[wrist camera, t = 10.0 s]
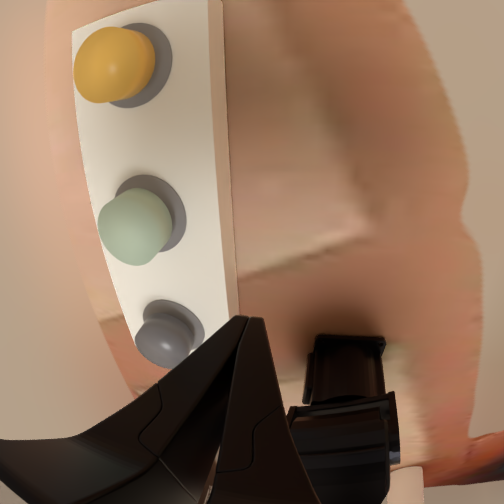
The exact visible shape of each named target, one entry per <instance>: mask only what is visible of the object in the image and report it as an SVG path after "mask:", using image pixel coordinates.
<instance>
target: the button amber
mask: <svg viewBox="0 0 504 504" xmlns="http://www.w3.org/2000/svg"><path fill="white" fill-rule="evenodd" d="M154 67H155V51H154V48H153V45H152V43H151V41H150V40H149V39H148V37H146V36H145V35H144V34H142V33H141V32H138V31H134V30H129V29H124V28H119V27H104V28H101V29H99V30H97V31H95V32H93V33H92V34H91V35H89V36H88V37H87V38H86V40H85V41H84V42H83V43H82V45H81V46H80V48H79V50H78V52H77V55H76V57H75V61H74V67H73V77H74V82H75V85H76V88H77V90H78V92H79V93H80V94H81V96H82V97H83V98H85V99H86V100H88V101H90V102H92V103H106V102H112V101H118V100H124V99H128V98H131V97H133V96H135V95H136V94H138V93H139V92H140V91H141V90H142V89H143V88H144V87H145V86H146V85H147V83H148V82H149V80H150V78H151V76H152V73H153V71H154Z"/></svg>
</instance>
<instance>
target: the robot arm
mask: <svg viewBox="0 0 504 504" xmlns="http://www.w3.org/2000/svg"><path fill="white" fill-rule="evenodd" d="M385 346H386V340H385V339H384V338H379V337H355V336H337V335H322V334H321V335H317V336H316V338H315V343H314V349H313V353H309V354H308V357H307V364H306V371H305V380H304V390H303V398H302V402H303V404H307V405H308V406H300V407H297V406H290V409H289V411H288V414H287V415H286V414H285V410H284V406H283V401H282V397H281V393H280V388H279V384H278V380H277V375H276V371H275V367H274V362H273V358H272V353H271V349H270V345H269V340H268V336H267V331H266V327H265V323H264V319H263V318H262V317H253V316H251V317H248V316H244V315H235V316H233V317H232V318H231V319H230V320H229V321H228V322H226V323H225V324H224V325H223V326H222V327H221V328H220V329H218V330H217V331H216V332H215V333H214V334H213V335H212V336H210V337H209V338H208V339H207V340H206V341H205V342H204V343H202V344H201V345H200V346H199V347H198V348H197V349H195V350H194V351H193V352H192V353H191V354H190V355H188V356H187V357H186V358H185V359H184V360H183V361H181V362H180V363H179V364H178V365H177V366H176V367H174V368H173V369H172V370H171V371H170V372H168V373H167V374H166V375H165V376H164V377H163V378H161V379H160V380H159V381H158V383H155V384H154V385H153V386H152V387H150V388H149V389H148V390H147V391H145V392H144V393H143V394H142V395H140V396H139V397H138V398H136V399H135V400H134V401H132V402H131V403H129V404H128V405H126V406H125V407H123V408H122V409H121V410H119V411H117V412H116V413H114V414H113V415H111V416H109V417H108V418H106V419H105V420H103V421H101V422H100V423H98V424H96V425H95V426H93V427H92V428H90V429H88V430H87V431H85V432H83V433H80V434H78V435H75V436H72V437H68V438H58V439H41V440H3V439H0V504H198V503H197V502H198V501H199V499H200V496H201V494H202V491H203V488H204V486H205V483H206V481H207V478H208V475H209V473H210V470H211V468H212V465H213V462H214V460H215V457H216V454H217V452H218V449H219V454H218V460H217V465H216V471H215V473H216V474H215V477H214V482H213V486H212V490H211V493H210V496H209V498H208V501H207V503H206V504H381V503H382V501H383V500H384V498H385V497H386V495H387V494H388V492H389V489H390V466H391V465H397V464H400V439H399V426H398V416H397V408H396V400H395V392H394V391H391V392H388V393H387V394H386V392H385V382H384V373H383V365H382V358H381V357H382V354H383V351H384V349H385ZM219 446H220V448H219Z"/></svg>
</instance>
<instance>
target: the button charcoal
mask: <svg viewBox="0 0 504 504" xmlns="http://www.w3.org/2000/svg"><path fill="white" fill-rule="evenodd" d="M135 344H136V347H137V348H138V350H139V351H140V353H141V354H142V355H143V356H144V357H145V358H147V359H148V360H149V361H151V362H152V363H154V364H156V365H158V366H161V367H164V368H168V369H173V368H174V367H176V366H177V365H178V364H179V363H180V362H181V361H183V360H184V359H185V358H186V357H187V356H188V355H189V353H190V351H191V349H192V347H193V345H194V336H193V334H192V332H191V330H190V329H189V328H188V327H187V325H186V324H184V323H183V322H182V321H181V320H179V319H177V318H176V317H174V316H171V315H168V314H165V313H154V314H151V315H149V316H148V317H147V319H146V320H145V322H144V323H143V325H142V326H141V328H140V329H139V331H138V332H137V334H136V336H135Z"/></svg>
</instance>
